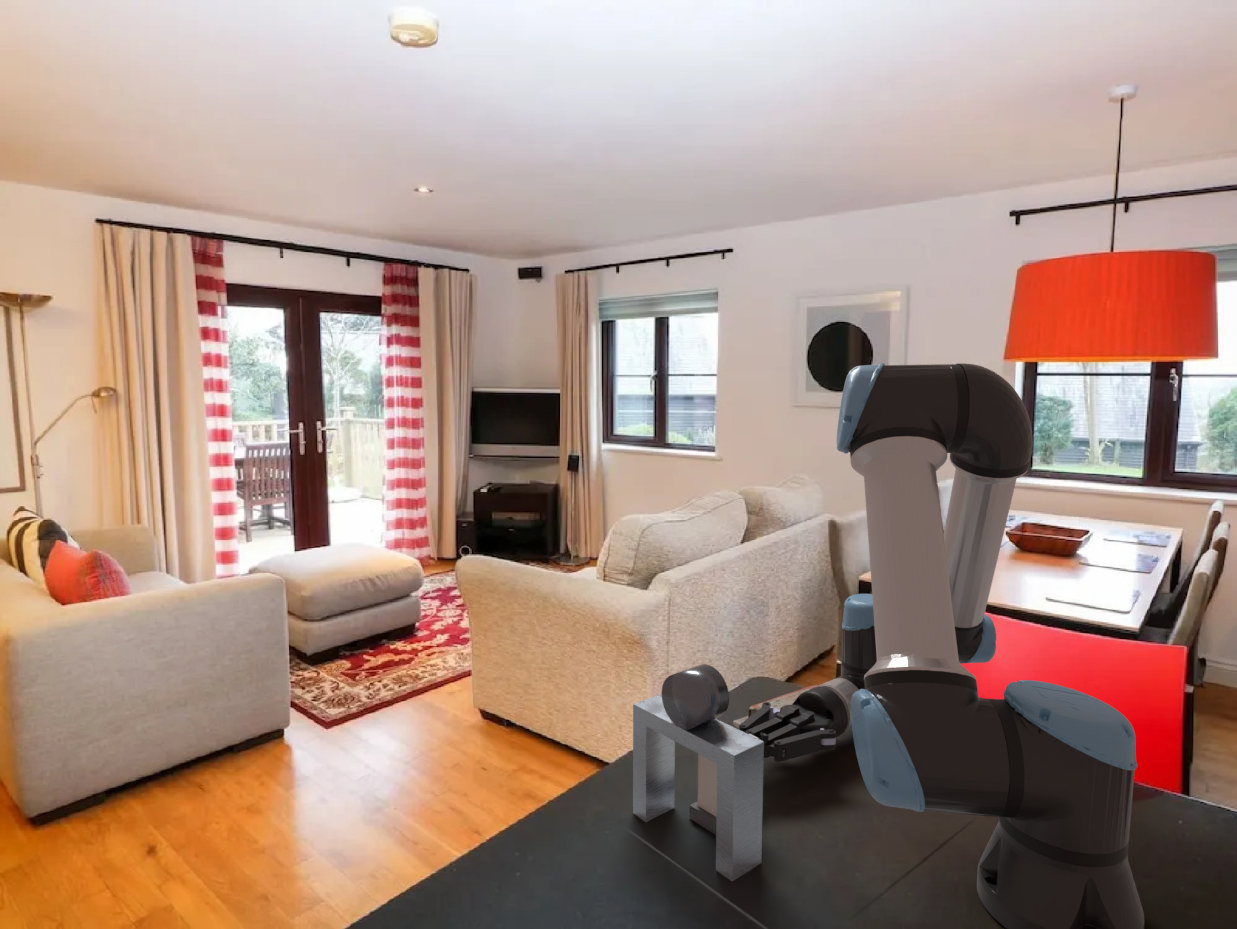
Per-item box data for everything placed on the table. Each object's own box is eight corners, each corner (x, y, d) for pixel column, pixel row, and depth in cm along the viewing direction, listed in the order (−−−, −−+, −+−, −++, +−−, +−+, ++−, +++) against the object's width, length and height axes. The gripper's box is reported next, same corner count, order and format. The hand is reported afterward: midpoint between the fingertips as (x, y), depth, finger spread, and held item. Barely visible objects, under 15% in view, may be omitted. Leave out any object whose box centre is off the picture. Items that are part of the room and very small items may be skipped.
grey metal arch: (761, 865, 85) (765, 687, 83) (732, 883, 82) (735, 699, 79) (661, 801, 98) (662, 646, 96) (633, 815, 95) (633, 655, 93)
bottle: (757, 822, 93) (758, 733, 92) (724, 840, 89) (726, 748, 88) (721, 801, 97) (722, 716, 96) (689, 818, 94) (690, 730, 92)
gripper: (866, 750, 106) (759, 809, 92) (792, 719, 117) (686, 767, 102) (867, 700, 106) (760, 752, 91) (793, 673, 116) (686, 715, 101)
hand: (721, 760), depth 96 cm, fingers closed
